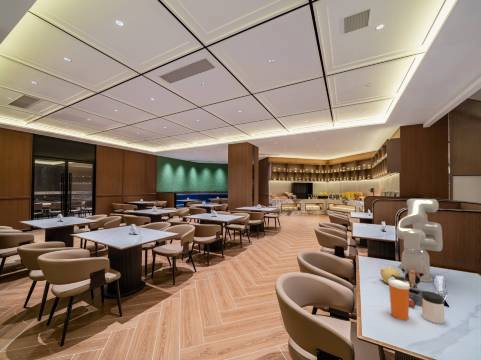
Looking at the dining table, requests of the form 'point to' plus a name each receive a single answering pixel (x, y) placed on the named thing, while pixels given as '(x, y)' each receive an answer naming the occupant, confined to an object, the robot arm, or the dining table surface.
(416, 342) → the dining table surface
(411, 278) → the pipe stub
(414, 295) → the valve body
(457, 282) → the dining table surface
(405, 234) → the robot arm
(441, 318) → the jar
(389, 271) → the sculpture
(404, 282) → the shaker bottle
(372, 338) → the dining table surface
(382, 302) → the dining table surface
